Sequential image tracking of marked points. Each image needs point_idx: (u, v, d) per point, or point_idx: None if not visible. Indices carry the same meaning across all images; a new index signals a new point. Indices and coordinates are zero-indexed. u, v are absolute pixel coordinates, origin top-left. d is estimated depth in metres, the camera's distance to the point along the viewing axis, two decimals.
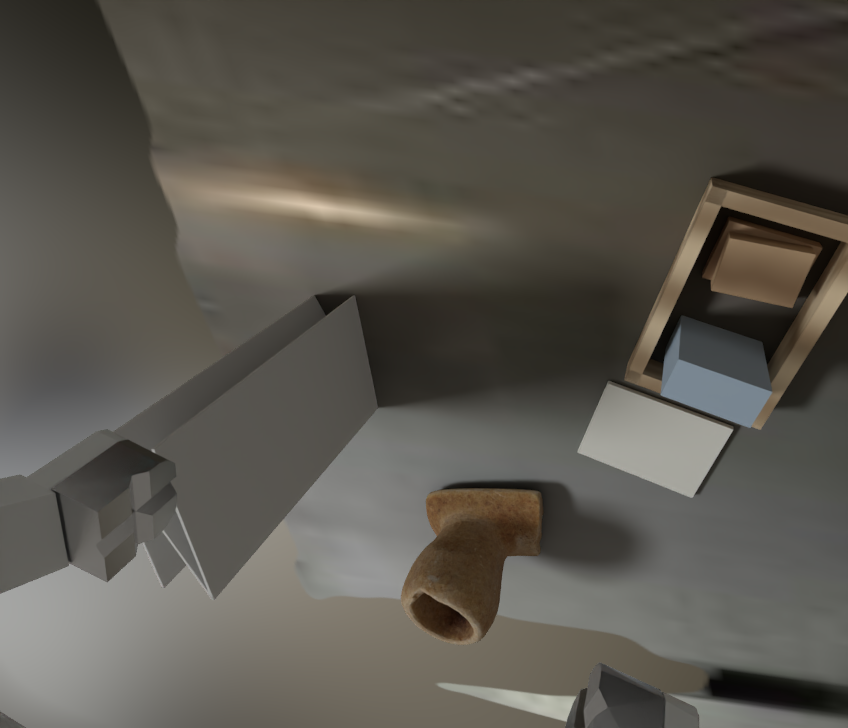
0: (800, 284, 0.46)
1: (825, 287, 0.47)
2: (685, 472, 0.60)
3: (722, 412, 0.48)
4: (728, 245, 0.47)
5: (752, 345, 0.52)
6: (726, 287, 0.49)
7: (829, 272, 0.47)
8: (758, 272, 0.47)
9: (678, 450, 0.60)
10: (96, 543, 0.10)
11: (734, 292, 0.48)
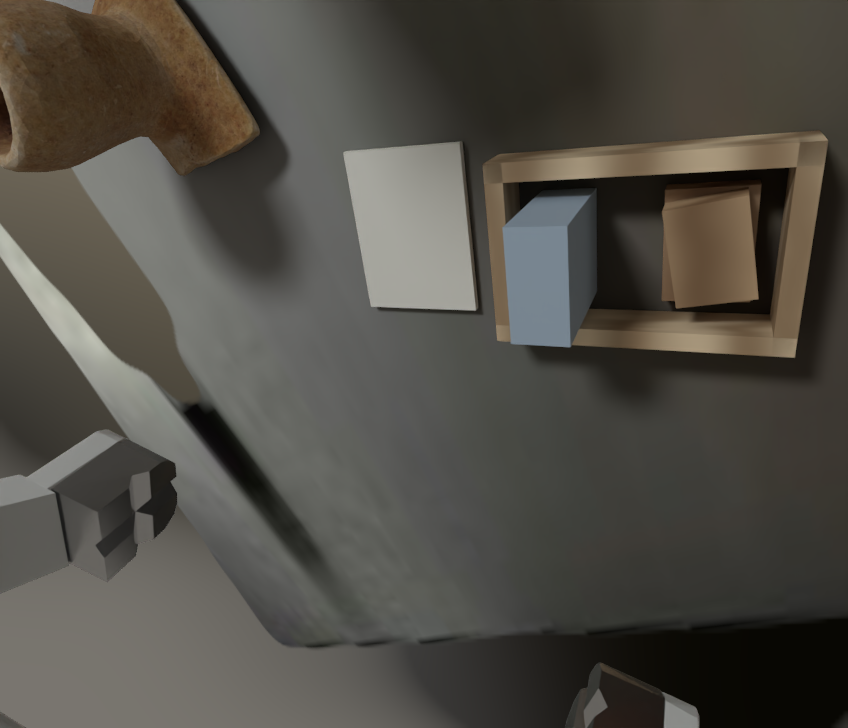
0: (711, 302, 0.36)
1: (702, 328, 0.38)
2: (396, 286, 0.47)
3: (515, 307, 0.35)
4: (737, 198, 0.33)
5: (593, 285, 0.40)
6: (674, 227, 0.35)
7: (719, 322, 0.38)
8: (710, 251, 0.35)
9: (418, 267, 0.46)
10: (96, 543, 0.10)
11: (670, 239, 0.35)
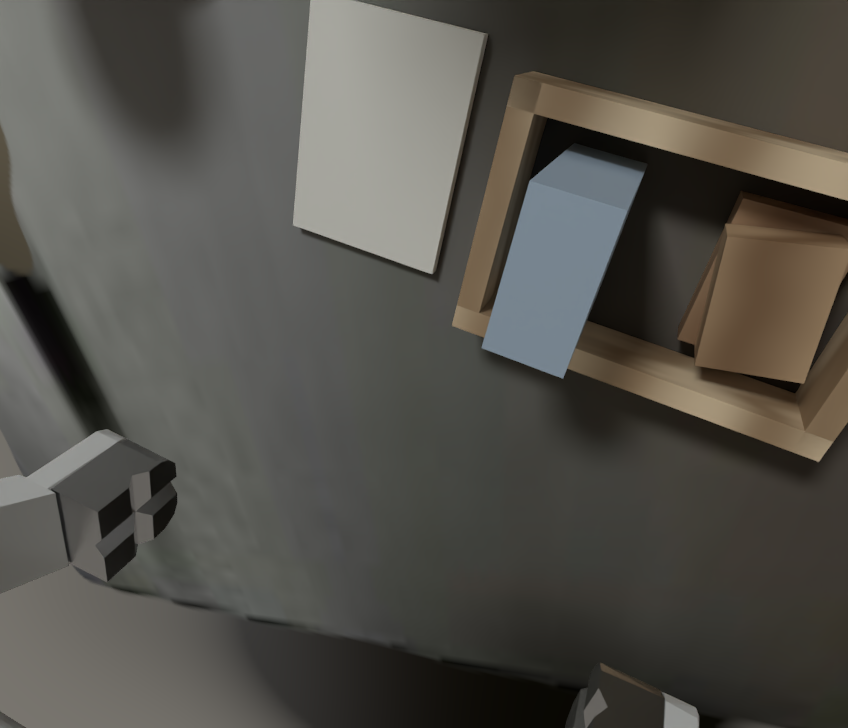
0: (742, 370, 0.27)
1: (718, 390, 0.29)
2: (334, 209, 0.34)
3: (505, 301, 0.24)
4: (834, 249, 0.24)
5: (597, 292, 0.30)
6: (735, 261, 0.25)
7: (737, 387, 0.29)
8: (768, 307, 0.25)
9: (372, 193, 0.33)
10: (96, 543, 0.10)
11: (723, 276, 0.25)
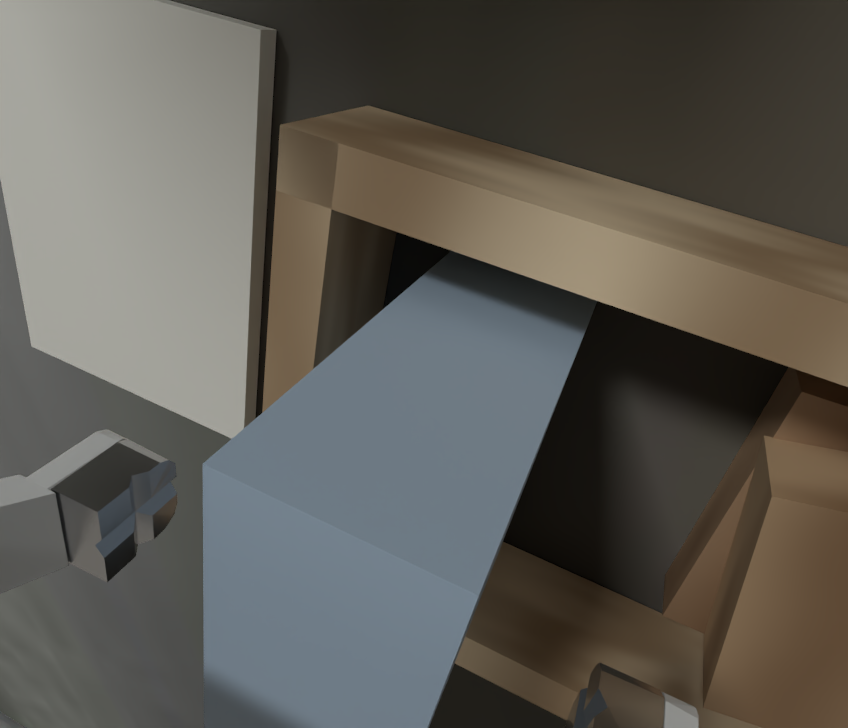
0: None
1: None
2: (82, 329, 0.20)
3: (224, 692, 0.10)
4: None
5: None
6: (789, 546, 0.11)
7: None
8: None
9: (130, 309, 0.19)
10: (96, 543, 0.10)
11: (764, 570, 0.11)
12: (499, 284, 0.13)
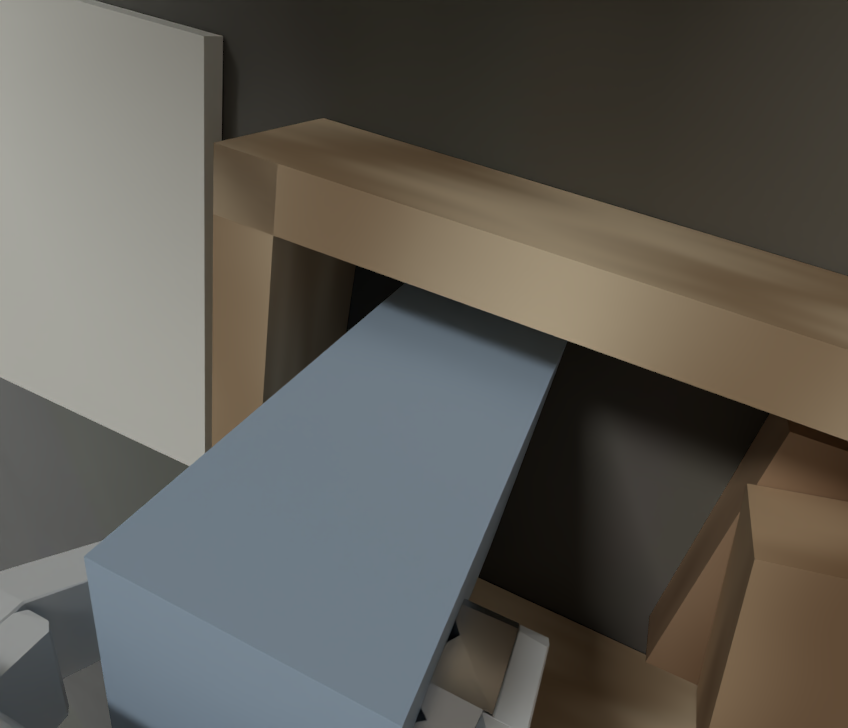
0: None
1: None
2: (34, 352, 0.19)
3: None
4: None
5: (482, 563, 0.15)
6: (777, 612, 0.10)
7: None
8: None
9: (82, 332, 0.18)
10: None
11: (751, 636, 0.10)
12: (463, 313, 0.12)
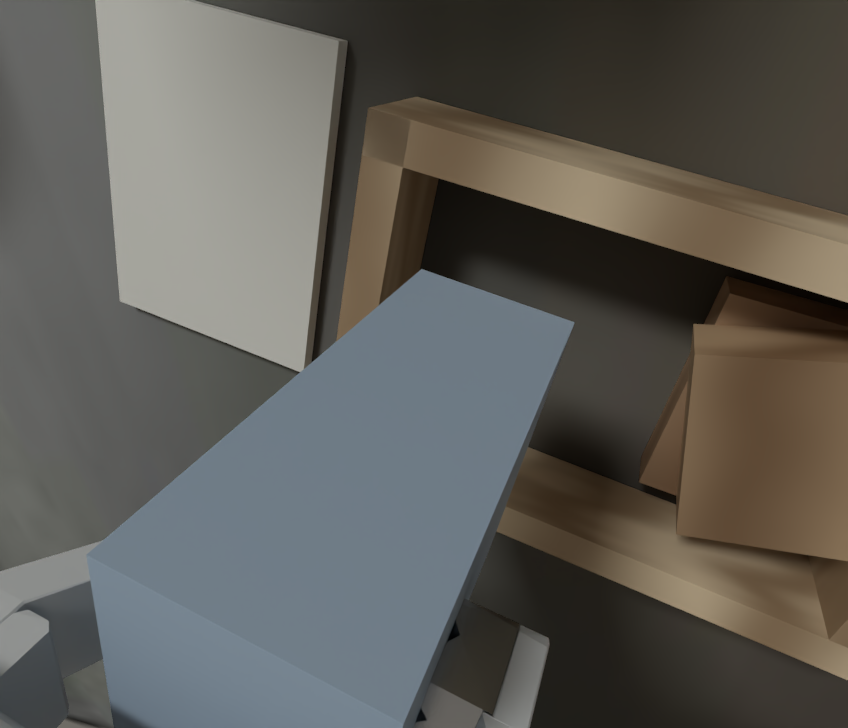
0: (750, 542, 0.17)
1: (698, 563, 0.19)
2: (168, 283, 0.25)
3: None
4: None
5: (483, 562, 0.15)
6: (712, 390, 0.16)
7: (726, 553, 0.20)
8: (776, 454, 0.16)
9: (213, 264, 0.23)
10: None
11: (699, 411, 0.16)
12: (464, 313, 0.12)
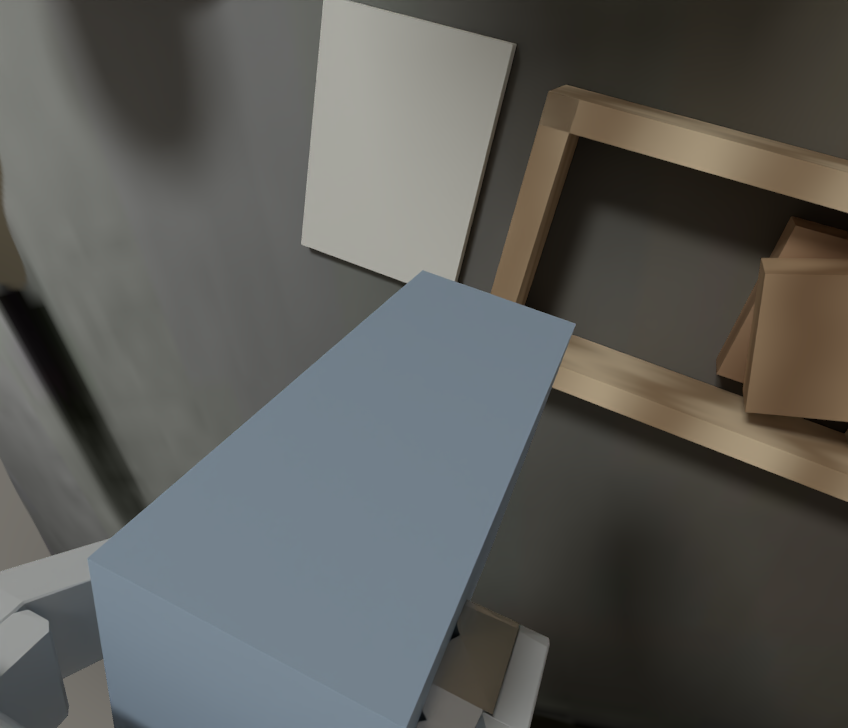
0: (800, 414, 0.24)
1: (763, 431, 0.26)
2: (346, 228, 0.32)
3: None
4: None
5: (484, 564, 0.15)
6: (777, 299, 0.23)
7: (783, 427, 0.27)
8: (821, 345, 0.23)
9: (386, 212, 0.31)
10: None
11: (766, 316, 0.23)
12: (465, 314, 0.12)
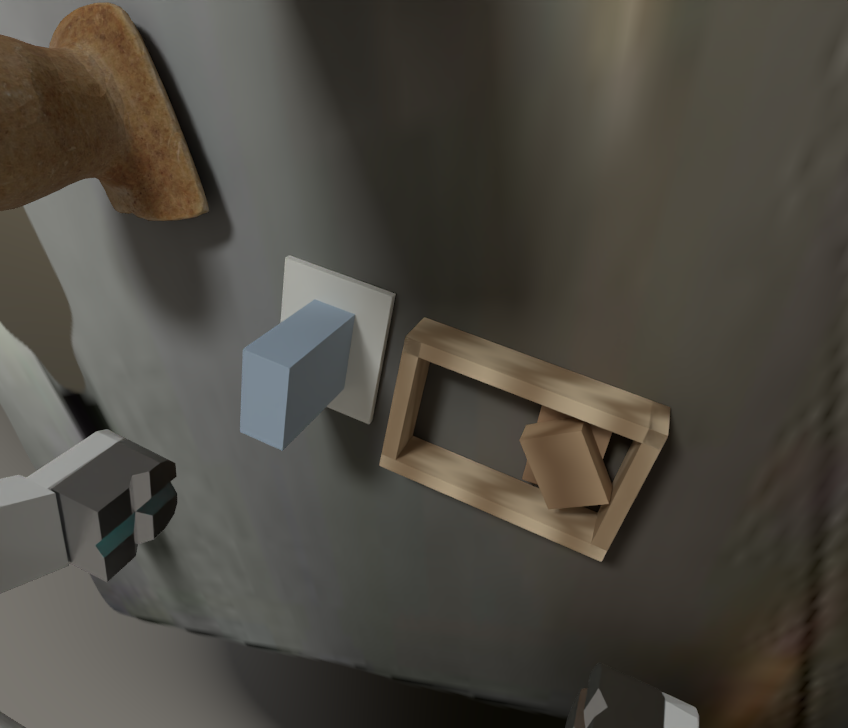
0: (574, 505, 0.43)
1: (543, 513, 0.45)
2: None
3: (245, 408, 0.42)
4: (573, 432, 0.40)
5: (336, 388, 0.48)
6: (531, 451, 0.42)
7: (558, 510, 0.46)
8: (563, 469, 0.42)
9: None
10: (96, 543, 0.10)
11: (531, 460, 0.42)
12: (322, 311, 0.45)
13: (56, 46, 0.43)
